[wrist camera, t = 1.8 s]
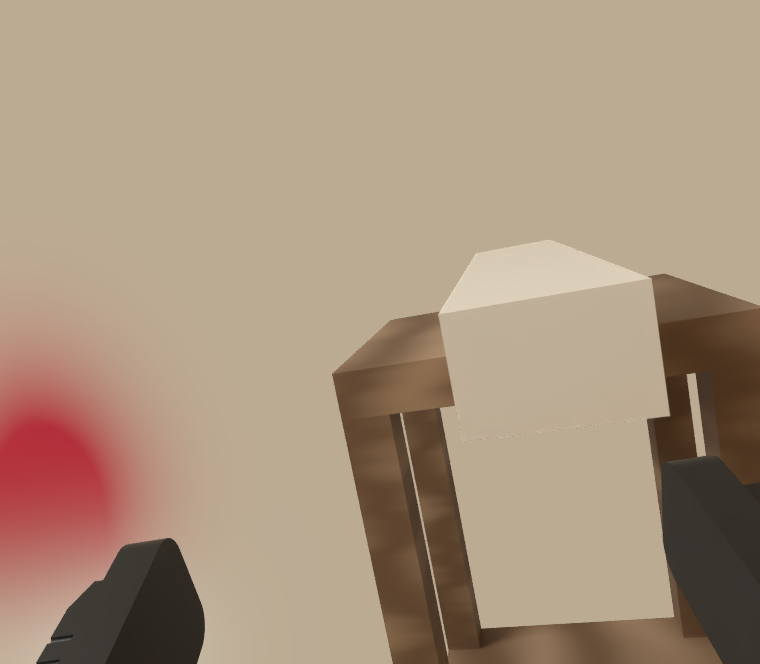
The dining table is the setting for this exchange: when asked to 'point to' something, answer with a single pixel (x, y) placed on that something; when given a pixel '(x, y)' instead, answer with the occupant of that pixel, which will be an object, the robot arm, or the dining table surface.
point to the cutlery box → (551, 343)
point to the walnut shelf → (439, 502)
